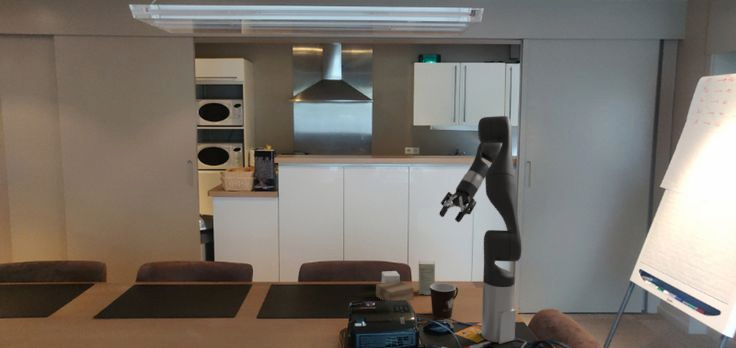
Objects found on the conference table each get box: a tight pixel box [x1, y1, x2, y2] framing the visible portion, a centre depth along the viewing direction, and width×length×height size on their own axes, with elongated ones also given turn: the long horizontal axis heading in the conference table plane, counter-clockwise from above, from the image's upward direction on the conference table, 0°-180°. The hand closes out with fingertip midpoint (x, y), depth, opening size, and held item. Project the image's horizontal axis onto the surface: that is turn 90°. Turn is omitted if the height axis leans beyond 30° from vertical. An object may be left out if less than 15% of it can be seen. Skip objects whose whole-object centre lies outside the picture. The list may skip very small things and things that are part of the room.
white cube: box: [381, 270, 401, 283], centre depth 198 cm, size 6×6×6 cm
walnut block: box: [375, 280, 414, 302], centre depth 186 cm, size 10×10×5 cm
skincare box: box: [418, 260, 436, 296], centre depth 192 cm, size 6×4×12 cm
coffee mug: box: [430, 282, 459, 319], centre depth 170 cm, size 12×9×10 cm
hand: (448, 218), depth 194 cm, fingers open, 8 cm apart
